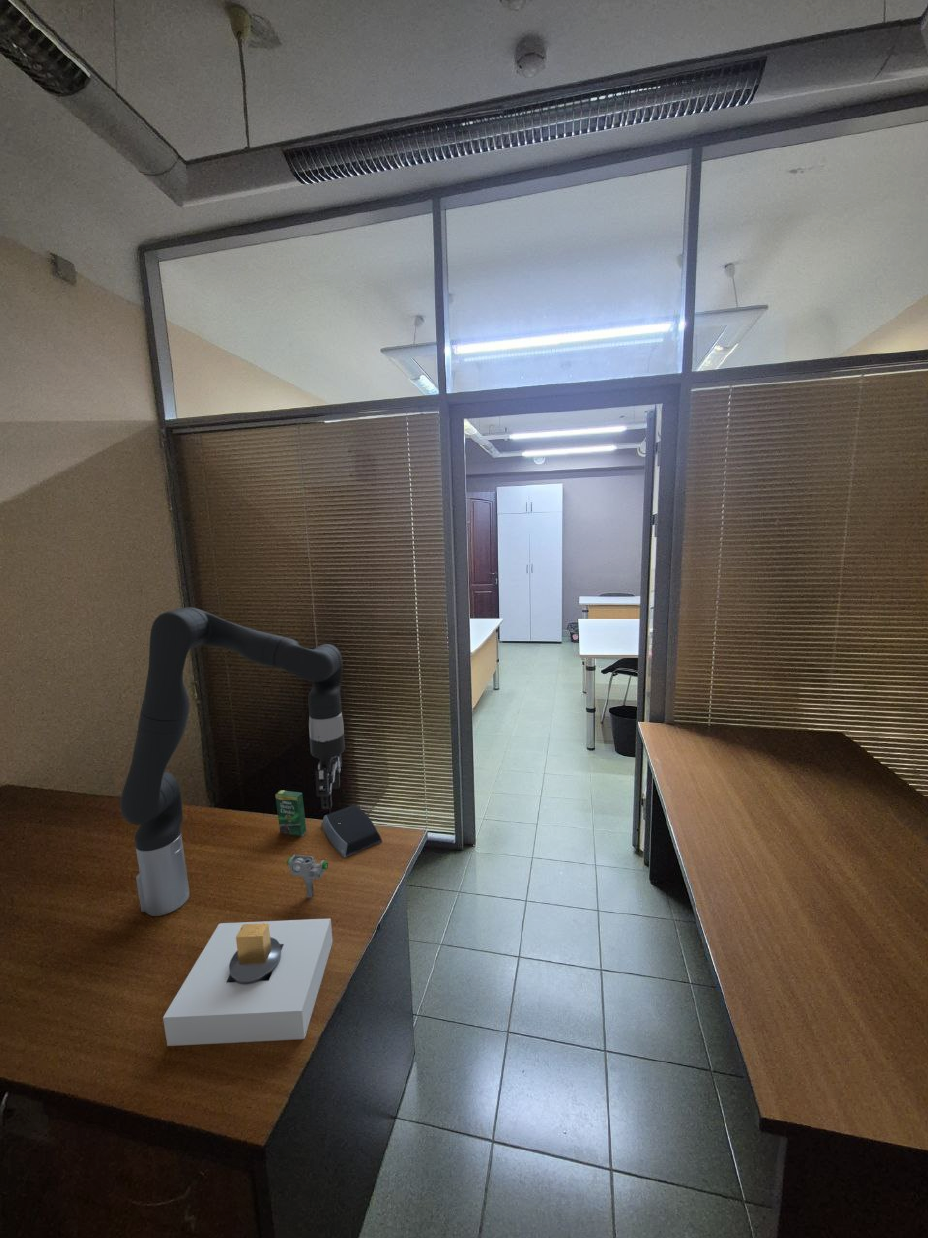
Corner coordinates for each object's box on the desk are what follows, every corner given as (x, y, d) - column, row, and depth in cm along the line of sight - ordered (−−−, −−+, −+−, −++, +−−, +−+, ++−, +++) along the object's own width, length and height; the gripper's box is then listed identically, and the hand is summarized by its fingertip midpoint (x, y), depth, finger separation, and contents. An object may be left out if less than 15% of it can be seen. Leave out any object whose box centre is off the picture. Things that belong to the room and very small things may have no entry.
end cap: (224, 1008, 87) (216, 952, 85) (245, 964, 96) (239, 912, 94) (273, 1006, 87) (267, 950, 85) (290, 962, 96) (284, 910, 94)
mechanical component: (326, 903, 113) (323, 866, 111) (288, 897, 115) (284, 861, 113) (332, 894, 116) (329, 858, 114) (295, 888, 118) (291, 853, 116)
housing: (167, 1046, 81) (162, 1017, 80) (222, 947, 101) (219, 923, 100) (304, 1039, 82) (301, 1010, 81) (332, 942, 102) (330, 918, 101)
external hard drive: (342, 860, 128) (340, 847, 128) (319, 826, 144) (318, 814, 143) (384, 842, 136) (384, 829, 135) (358, 811, 151) (358, 800, 151)
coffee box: (278, 833, 140) (274, 793, 138) (284, 827, 143) (280, 788, 141) (301, 837, 138) (297, 797, 136) (306, 832, 141) (303, 792, 138)
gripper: (318, 720, 112) (322, 782, 115) (300, 747, 98) (306, 816, 101) (349, 720, 112) (353, 781, 115) (336, 745, 98) (341, 815, 101)
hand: (331, 798), depth 108 cm, fingers open, 8 cm apart
